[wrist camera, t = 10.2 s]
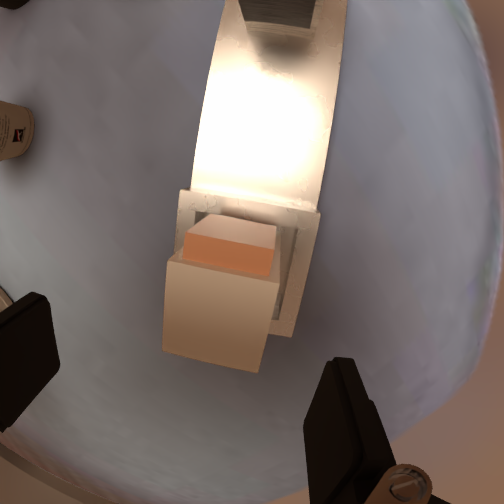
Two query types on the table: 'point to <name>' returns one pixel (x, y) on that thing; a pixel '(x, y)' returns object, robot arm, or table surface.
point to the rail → (269, 130)
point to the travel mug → (12, 3)
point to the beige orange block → (222, 292)
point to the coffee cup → (14, 130)
